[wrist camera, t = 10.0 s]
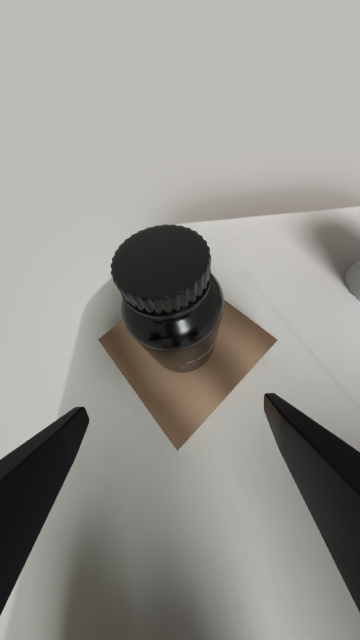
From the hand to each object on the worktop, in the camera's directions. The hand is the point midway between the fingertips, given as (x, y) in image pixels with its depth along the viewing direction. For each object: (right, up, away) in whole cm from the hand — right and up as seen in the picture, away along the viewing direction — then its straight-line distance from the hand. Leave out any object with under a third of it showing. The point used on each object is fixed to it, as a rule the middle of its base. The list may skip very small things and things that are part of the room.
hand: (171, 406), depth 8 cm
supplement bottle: (+1, +2, +10) cm, 11 cm away
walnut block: (+1, +1, +13) cm, 13 cm away
